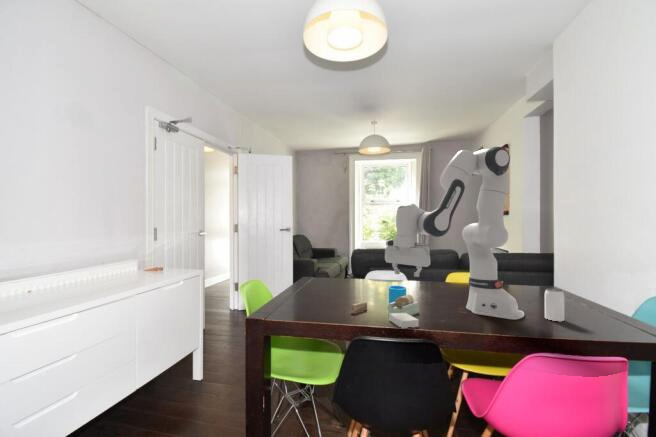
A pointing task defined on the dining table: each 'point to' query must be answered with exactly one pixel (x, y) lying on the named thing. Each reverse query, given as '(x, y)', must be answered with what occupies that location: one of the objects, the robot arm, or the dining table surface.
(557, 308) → the can
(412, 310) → the cradle
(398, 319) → the slab
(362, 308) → the wooden brick
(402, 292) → the mug
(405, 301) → the roller
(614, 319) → the dining table surface
